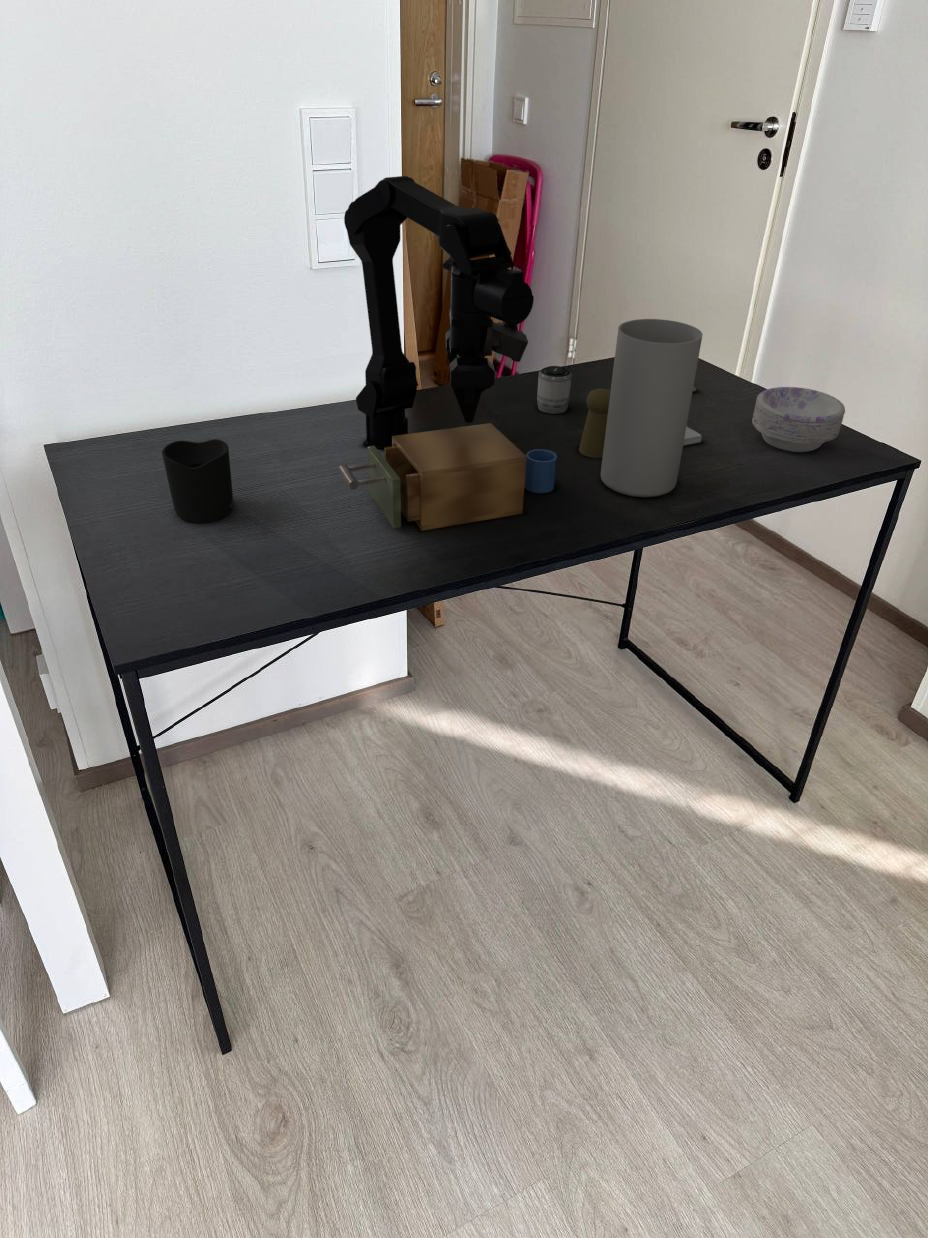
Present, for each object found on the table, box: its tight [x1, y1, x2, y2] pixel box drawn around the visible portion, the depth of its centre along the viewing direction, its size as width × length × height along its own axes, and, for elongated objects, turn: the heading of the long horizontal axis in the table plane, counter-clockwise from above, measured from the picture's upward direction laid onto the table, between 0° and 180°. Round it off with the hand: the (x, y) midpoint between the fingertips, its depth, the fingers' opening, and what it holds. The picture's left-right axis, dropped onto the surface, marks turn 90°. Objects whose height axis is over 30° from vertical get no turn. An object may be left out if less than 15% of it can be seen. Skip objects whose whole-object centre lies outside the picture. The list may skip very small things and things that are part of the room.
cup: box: [524, 448, 558, 494], centre depth 145 cm, size 5×5×6 cm
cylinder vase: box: [600, 318, 703, 498], centre depth 142 cm, size 12×12×25 cm
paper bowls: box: [751, 386, 846, 453], centre depth 162 cm, size 15×15×8 cm
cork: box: [578, 388, 611, 459], centre depth 156 cm, size 6×6×11 cm
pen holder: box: [161, 438, 234, 524], centre depth 134 cm, size 9×9×10 cm
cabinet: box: [392, 422, 527, 532], centre depth 139 cm, size 17×14×10 cm
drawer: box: [337, 446, 420, 529], centre depth 136 cm, size 21×12×8 cm, turn 112°
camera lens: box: [536, 365, 572, 415], centre depth 173 cm, size 6×6×8 cm
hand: (467, 410), depth 138 cm, fingers open, 9 cm apart
